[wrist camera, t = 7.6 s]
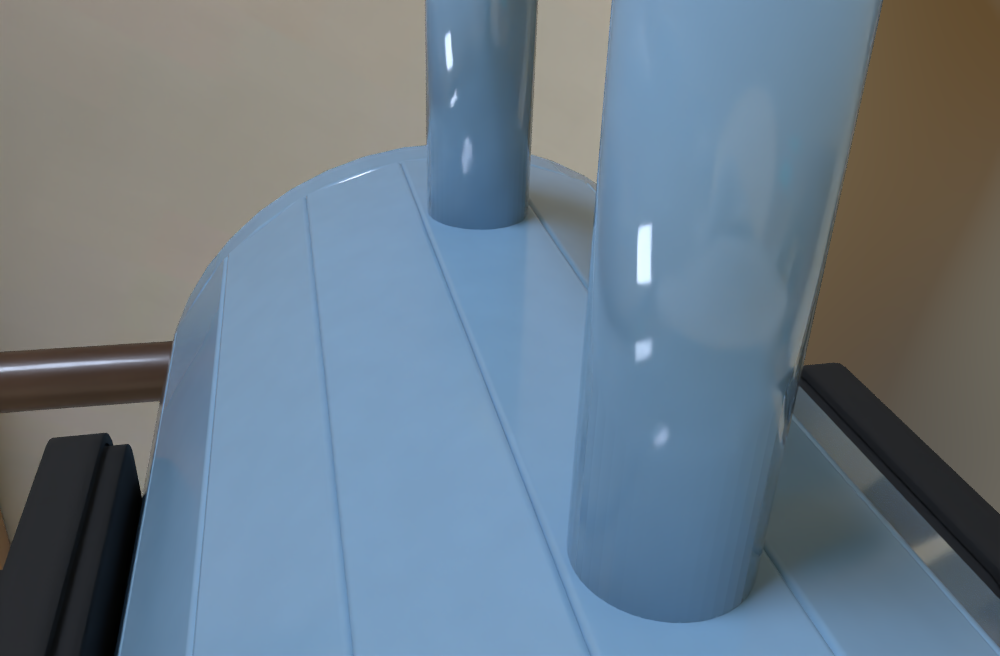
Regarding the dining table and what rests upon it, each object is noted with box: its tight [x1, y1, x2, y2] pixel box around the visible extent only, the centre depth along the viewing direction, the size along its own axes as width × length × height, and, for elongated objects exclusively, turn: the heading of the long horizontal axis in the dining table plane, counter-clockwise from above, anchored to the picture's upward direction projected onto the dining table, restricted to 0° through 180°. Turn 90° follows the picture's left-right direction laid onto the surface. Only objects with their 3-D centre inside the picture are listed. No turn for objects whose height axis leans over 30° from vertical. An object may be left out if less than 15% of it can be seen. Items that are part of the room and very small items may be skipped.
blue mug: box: [113, 0, 1000, 656], centre depth 8 cm, size 12×7×9 cm, turn 178°
